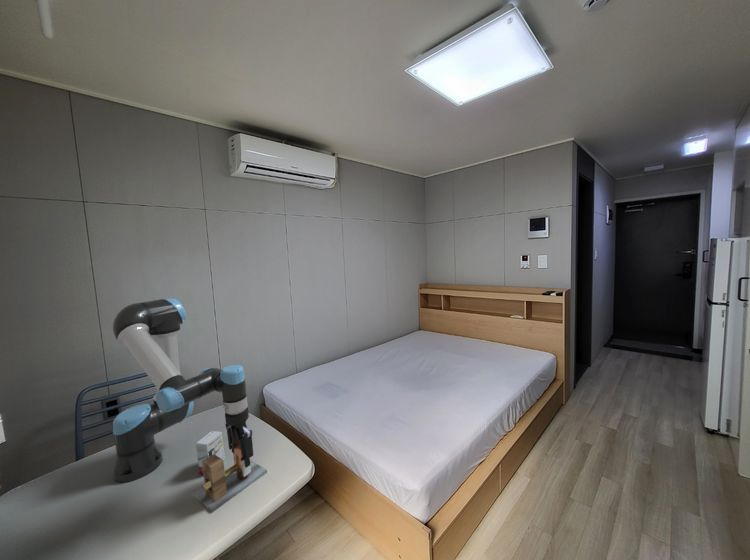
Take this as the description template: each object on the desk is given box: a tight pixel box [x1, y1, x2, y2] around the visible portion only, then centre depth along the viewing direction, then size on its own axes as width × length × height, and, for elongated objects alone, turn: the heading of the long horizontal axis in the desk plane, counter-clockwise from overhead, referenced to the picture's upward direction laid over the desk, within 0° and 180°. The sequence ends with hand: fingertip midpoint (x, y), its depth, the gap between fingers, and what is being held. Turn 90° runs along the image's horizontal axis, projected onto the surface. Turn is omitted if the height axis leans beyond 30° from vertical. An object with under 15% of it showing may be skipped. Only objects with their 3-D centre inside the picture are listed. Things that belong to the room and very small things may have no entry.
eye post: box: [196, 454, 268, 513], centre depth 105 cm, size 10×20×13 cm, turn 145°
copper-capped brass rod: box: [202, 444, 250, 491], centre depth 103 cm, size 4×15×11 cm, turn 145°
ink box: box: [195, 430, 226, 474], centre depth 116 cm, size 9×5×12 cm, turn 168°
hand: (243, 471), depth 108 cm, fingers closed on copper-capped brass rod, 4 cm apart
